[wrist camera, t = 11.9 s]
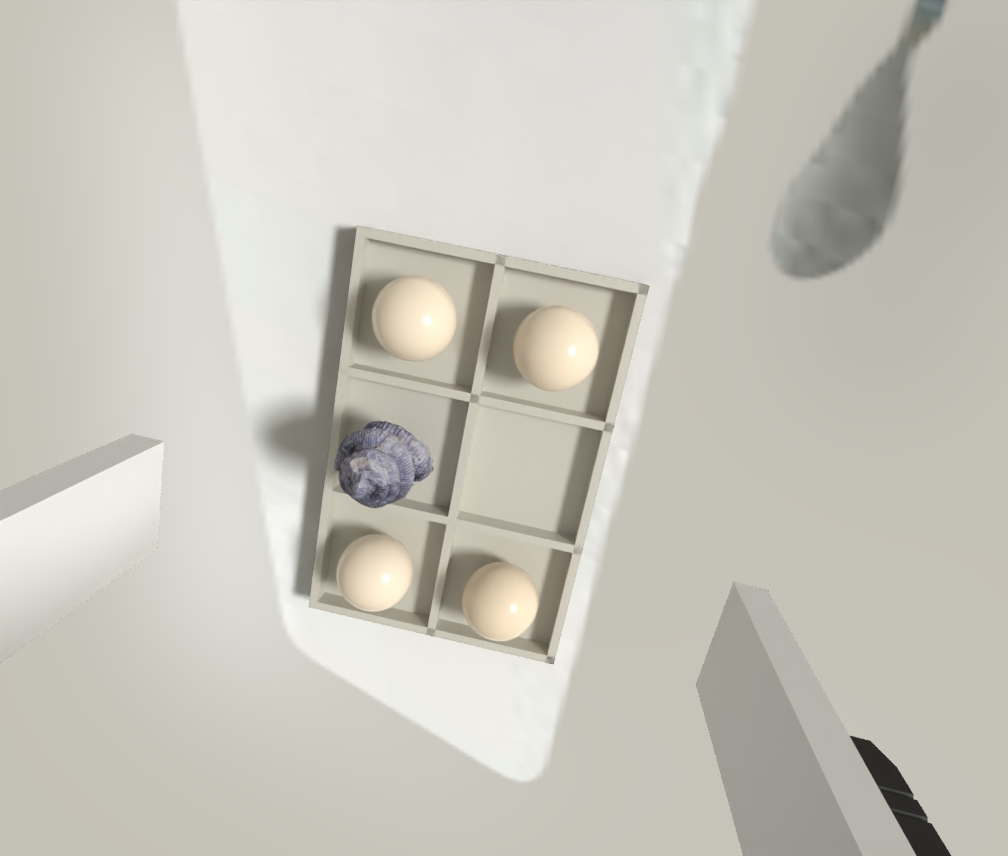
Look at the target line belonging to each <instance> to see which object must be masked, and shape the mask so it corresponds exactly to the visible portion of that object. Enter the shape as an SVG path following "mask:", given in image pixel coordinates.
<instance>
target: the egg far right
mask: <svg viewBox="0 0 1008 856" xmlns="http://www.w3.org/2000/svg"><path fill="white" fill-rule="evenodd" d="M538 602H539V600H538V592H537V589H536V586H535V584H534V582H533V580H532V579H531V577H530V576H529V575H528V574H527V573H526V572H525V571H524V570H523V569H521V568H520V567H518V566H516V565H514V564H511V563H507V562H494V563H489V564H486V565H484V566H482V567H481V568H479V569H478V570H476V571H475V572H474V573H473V574H472V575H471V577H470V578H469V579H468V581H467V583H466V585H465V587H464V590H463V595H462V609H463V613H464V616H465V618H466V621H467V622H468V624H469V625H470V627H471V628H472V629H473V630H474V631H475V632H476V633H477V634H479V635H480V636H482V637H484V638H486V639H489V640H493V641H508V640H512V639H514V638H516V637H518V636H520V635H522V634H523V633H524V632H525V631H526V630H527V629H528V628H529V627H530V626H531V624H532V623H533V621H534V619H535V617H536V614H537V611H538Z"/></svg>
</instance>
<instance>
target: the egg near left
mask: <svg viewBox="0 0 1008 856" xmlns="http://www.w3.org/2000/svg"><path fill="white" fill-rule="evenodd" d="M371 319H372V327H373V331H374V334H375V336H376V338H377V340H378V341H379V343H380V344H381V345H382V347H383V348H384V349H385V350H386V351H387V352H389V353H390V354H391V355H393V356H395V357H397V358H399V359H402V360H405V361H411V362H420V361H426V360H429V359H432V358H434V357H436V356H438V355H439V354H441V353H442V352H443V351H444V350H445V349H446V348H447V347H448V346H449V344H450V343H451V341H452V340H453V338H454V335H455V333H456V329H457V322H458V320H457V310H456V307H455V304H454V301H453V299H452V297H451V296H450V294H449V293H448V292H447V290H446V289H445V288H444V287H443V286H441V285H440V284H439V283H438V282H436V281H434V280H432V279H430V278H427V277H424V276H417V275H409V276H403V277H400V278H397V279H395V280H393V281H391V282H390V283H388V284H387V285H386V286H385V287H384V288H383V289H382V290H381V291H380V293H379V294H378V296H377V297H376V299H375V301H374V304H373V308H372V315H371Z"/></svg>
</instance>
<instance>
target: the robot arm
mask: <svg viewBox="0 0 1008 856" xmlns="http://www.w3.org/2000/svg"><path fill="white" fill-rule="evenodd" d="M163 449H164V442H163V441H160V440H156V439H151V438H147V437H143V436H139V435H135V434H130V435H128V436H126V437H123V438H121V439H119V440H116V441H114V442H112V443H109V444H108V445H105V446H103V447H100V448H98V449H96V450H93V451H91V452H89V453H86V454H84V455H82V456H80V457H77V458H75V459H72V460H70V461H68V462H66V463H63V464H61V465H58V466H56V467H54V468H52V469H49V470H47V471H45V472H42V473H40V474H38V475H35V476H33V477H31V478H28V479H26V480H24V481H22V482H19V483H17V484H14V485H12V486H10V487H8V488H5V489H3V490H1V491H0V663H1V662H3V661H4V660H5V659H7V658H8V657H10V656H11V655H12V654H14V653H15V652H16V651H18V650H19V649H21V648H22V647H23V646H25V645H26V644H27V643H29V642H30V641H31V640H33V639H34V638H35V637H37V636H38V635H40V634H41V633H42V632H44V631H45V630H46V629H48V628H49V627H51V626H52V625H53V624H55V623H56V622H57V621H59V620H60V619H61V618H63V617H64V616H65V615H67V614H68V613H70V612H71V611H72V610H74V609H75V608H76V607H78V606H79V605H81V604H82V603H83V602H84V601H86V600H87V599H89V598H90V597H91V596H93V595H94V594H96V593H97V592H98V591H100V590H101V589H102V588H104V587H105V586H106V585H108V584H109V583H110V582H112V581H113V580H114V579H116V578H117V577H119V576H120V575H121V574H123V573H124V572H126V571H127V570H128V569H130V568H131V567H132V566H134V565H135V564H136V563H138V562H139V561H141V560H142V559H143V558H145V557H146V556H147V555H149V554H150V553H151V552H153V551H154V550H156V549H157V544H158V529H159V512H160V497H161V482H162V466H163V451H164V450H163ZM696 686H697V690H698V693H699V697H700V701H701V704H702V708H703V712H704V715H705V719H706V722H707V726H708V730H709V733H710V737H711V741H712V744H713V748H714V751H715V755H716V759H717V762H718V766H719V770H720V773H721V777H722V780H723V784H724V788H725V791H726V795H727V798H728V802H729V806H730V810H731V813H732V817H733V820H734V824H735V827H736V831H737V835H738V839H739V842H740V846H741V849H742V853H743V856H951V855H950V853H949V851H948V850H947V848H946V846H945V845H944V843H943V842H942V840H941V839H940V837H939V835H938V834H937V832H936V830H935V829H934V827H933V825H932V824H931V823H928V822H927V816H926V814H925V812H924V811H923V809H922V807H921V806H920V804H919V803H918V801H917V800H914V799H913V793H912V791H911V790H910V788H909V786H908V785H907V783H906V782H905V780H904V778H903V777H902V775H901V773H900V772H899V770H898V768H897V767H896V766H895V765H894V764H893V763H892V762H891V761H890V760H889V759H888V758H887V757H886V756H885V755H884V754H883V753H882V752H881V751H880V750H879V749H878V748H877V747H876V746H875V745H874V744H873V743H872V742H871V741H869V740H865V739H860V738H856V737H853V736H849V734H848V732H847V731H846V729H845V727H844V725H843V723H842V722H841V720H840V718H839V716H838V715H837V713H836V711H835V709H834V708H833V706H832V704H831V702H830V700H829V699H828V697H827V695H826V693H825V691H824V690H823V688H822V686H821V684H820V682H819V681H818V679H817V677H816V675H815V674H814V672H813V670H812V668H811V666H810V664H809V663H808V661H807V659H806V657H805V655H804V654H803V652H802V650H801V648H800V647H799V645H798V643H797V641H796V640H795V638H794V636H793V634H792V632H791V630H790V629H789V627H788V625H787V623H786V621H785V620H784V618H783V616H782V614H781V613H780V611H779V609H778V607H777V605H776V604H775V602H774V600H773V598H772V596H771V595H770V593H769V591H768V590H765V589H761V588H757V587H753V586H749V585H745V584H741V583H736V582H733V585H732V587H731V590H730V593H729V596H728V598H727V601H726V604H725V606H724V609H723V612H722V615H721V618H720V620H719V623H718V626H717V628H716V631H715V634H714V637H713V639H712V642H711V645H710V647H709V650H708V653H707V656H706V659H705V662H704V664H703V667H702V669H701V672H700V675H699V678H698V680H697V683H696Z"/></svg>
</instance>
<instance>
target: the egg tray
mask: <svg viewBox="0 0 1008 856" xmlns="http://www.w3.org/2000/svg"><path fill="white" fill-rule="evenodd" d="M409 275H417V276H424V277H427V278H430V279H432V280H434V281H436V282H438V283H439V284H440V285H441V286H443V287H444V288H445V289H446V290H447V292H448V293H449V294H450V296H451V297H452V299H453V301H454V304H455V307H456V310H457V320H458V322H457V329H456V333H455V335H454V338H453V340H452V341H451V343H450V344H449V346H448V347H447V348H446V349H445V350H444V351H443V352H442V353H441V354H439V355H438V356H436V357H434V358H432V359H429V360H426V361H420V362H411V361H405V360H402V359H399V358H397V357H395V356H393V355H391V354H390V353H389V352H387V351H386V350H385V349H384V348H383V347H382V345H381V344H380V343H379V341H378V340H377V338H376V336H375V334H374V331H373V327H372V319H371V315H372V308H373V304H374V301H375V299H376V297H377V296H378V294H379V293H380V291H381V290H382V289H383V288H384V287H385V286H386V285H387V284H388V283H390V282H391V281H393V280H395V279H397V278H400V277H403V276H409ZM648 289H649V286H648V285H646V284H641V283H636V282H631V281H626V280H621V279H617V278H612V277H607V276H602V275H597V274H592V273H587V272H582V271H578V270H573V269H568V268H563V267H558V266H553V265H548V264H543V263H539V262H534V261H529V260H524V259H519V258H514V257H509V256H505V255H500V254H495V253H490V252H485V251H480V250H475V249H470V248H466V247H461V246H456V245H451V244H446V243H441V242H436V241H431V240H427V239H422V238H417V237H412V236H407V235H402V234H397V233H392V232H388V231H383V230H378V229H373V228H368V227H361V226H357V229H356V237H355V245H354V253H353V261H352V269H351V277H350V285H349V292H348V300H347V308H346V316H345V324H344V332H343V340H342V348H341V356H340V364H339V372H338V379H337V387H336V395H335V403H334V411H333V419H332V427H331V435H330V443H329V451H328V459H327V466H326V474H325V482H324V490H323V498H322V506H321V514H320V522H319V530H318V538H317V546H316V553H315V561H314V569H313V577H312V585H311V593H310V601H309V607H310V608H315V609H319V610H323V611H328V612H332V613H336V614H340V615H345V616H349V617H353V618H357V619H362V620H366V621H370V622H375V623H379V624H383V625H387V626H392V627H396V628H400V629H405V630H409V631H413V632H417V633H422V634H426V635H430V636H434V637H439V638H443V639H447V640H452V641H456V642H460V643H464V644H469V645H473V646H477V647H481V648H486V649H490V650H494V651H499V652H503V653H507V654H511V655H516V656H520V657H524V658H529V659H533V660H537V661H541V662H546V663H550V664H554V660H555V656H556V652H557V648H558V644H559V640H560V637H561V633H562V629H563V625H564V621H565V617H566V613H567V609H568V605H569V601H570V597H571V593H572V589H573V585H574V581H575V577H576V573H577V569H578V566H579V562H580V558H581V554H582V550H583V546H584V542H585V538H586V534H587V530H588V526H589V522H590V518H591V514H592V510H593V506H594V502H595V498H596V495H597V491H598V487H599V483H600V479H601V475H602V471H603V467H604V463H605V459H606V455H607V451H608V447H609V443H610V439H611V435H612V431H613V427H614V424H615V420H616V416H617V412H618V408H619V404H620V400H621V396H622V392H623V388H624V384H625V380H626V376H627V372H628V368H629V364H630V360H631V356H632V353H633V349H634V345H635V341H636V337H637V333H638V329H639V325H640V321H641V317H642V313H643V309H644V305H645V301H646V297H647V293H648ZM550 305H562V306H567V307H571V308H573V309H575V310H577V311H579V312H580V313H582V314H583V315H584V316H585V317H586V318H587V319H588V320H589V321H590V322H591V324H592V325H593V327H594V329H595V331H596V333H597V336H598V341H599V354H598V359H597V363H596V365H595V367H594V369H593V371H592V373H591V374H590V375H589V377H588V378H587V379H586V380H585V381H584V382H582V383H581V384H579V385H578V386H576V387H574V388H572V389H569V390H566V391H560V392H551V391H545V390H542V389H539V388H537V387H535V386H533V385H532V384H530V383H529V382H528V381H526V380H525V378H524V377H523V376H522V375H521V374H520V372H519V371H518V369H517V367H516V364H515V361H514V358H513V340H514V336H515V333H516V331H517V329H518V327H519V325H520V324H521V322H522V321H523V320H524V319H525V318H526V317H527V316H528V315H529V314H531V313H532V312H534V311H535V310H537V309H539V308H542V307H545V306H550ZM372 421H382V422H383V421H386V422H390V423H393V424H396V425H399V426H401V427H403V428H404V429H405V430H406V431H409V432H410V433H411V434H413V436H415V438H416V439H417V440H418V441H421V442H422V443H424V445H425V446H427V447H428V448H429V451H430V456H431V457H432V458H433V463H432V465H433V468H434V470H433V472H431V473H430V475H428V477H426V478H425V479H423V480H422V481H420V482H414V485H413V486H412V487H411V490H410V491H409V492H408V494H407V495H406V497H405V498H403V499H401V500H398V501H396V502H394V503H391V504H387V505H386V506H383V507H381V508H369V507H367V506H364V505H361V504H360V503H358V502H357V501H355V500H354V499H352V498H351V497H350V496H349V495H348V494H346V493H345V492H344V491H343V490H342V488H341V486H340V483H339V478H338V475H339V472H338V471H336V470H335V468H334V460H335V458H336V453H337V448H338V446H339V445H340V443H341V442H342V440H343V439H344V438H346V437H347V436H348V435H349V434H351V433H353V432H355V431H360V430H363V428H364V427H365V426H366V425H367V424H368V423H370V422H372ZM369 534H384V535H388V536H391V537H393V538H395V539H397V540H398V541H399V542H401V543H402V544H403V545H404V546H405V548H406V549H407V551H408V552H409V554H410V556H411V559H412V562H413V569H414V573H413V580H412V584H411V586H410V589H409V590H408V592H407V594H406V595H405V596H404V598H403V599H402V600H401V601H400V602H398V603H397V604H396V605H394V606H393V607H391V608H389V609H386V610H382V611H377V612H370V611H364V610H361V609H358V608H356V607H354V606H353V605H351V604H350V603H349V602H348V601H347V600H346V599H345V598H344V597H343V596H342V594H341V592H340V590H339V588H338V585H337V580H336V568H337V564H338V561H339V558H340V556H341V554H342V553H343V551H344V550H345V549H346V547H347V546H348V545H349V544H350V543H352V542H353V541H354V540H356V539H358V538H360V537H362V536H365V535H369ZM494 562H507V563H511V564H514V565H516V566H518V567H520V568H521V569H523V570H524V571H525V572H526V573H527V574H528V575H529V576H530V577H531V579H532V580H533V582H534V584H535V586H536V589H537V592H538V600H539V602H538V611H537V614H536V617H535V619H534V621H533V623H532V624H531V626H530V627H529V628H528V629H527V630H526V631H525V632H524V633H523V634H522V635H520V636H518V637H516V638H514V639H512V640H508V641H493V640H489V639H486V638H484V637H482V636H480V635H479V634H477V633H476V632H475V631H474V630H473V629H472V628H471V627H470V625H469V624H468V622H467V621H466V618H465V616H464V613H463V609H462V595H463V590H464V587H465V585H466V583H467V581H468V579H469V578H470V577H471V575H472V574H473V573H474V572H475V571H476V570H478V569H479V568H481V567H482V566H484V565H486V564H489V563H494Z"/></svg>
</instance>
